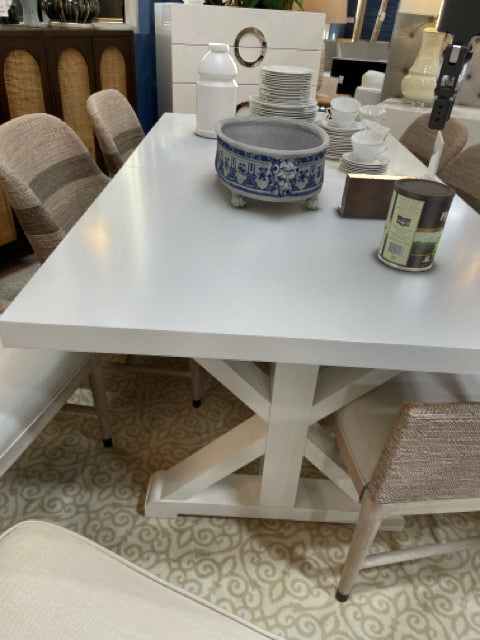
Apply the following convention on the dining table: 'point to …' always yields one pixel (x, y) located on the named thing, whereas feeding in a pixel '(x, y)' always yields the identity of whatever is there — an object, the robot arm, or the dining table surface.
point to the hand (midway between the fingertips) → (438, 124)
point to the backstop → (367, 195)
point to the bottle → (215, 90)
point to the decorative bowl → (271, 159)
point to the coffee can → (415, 223)
